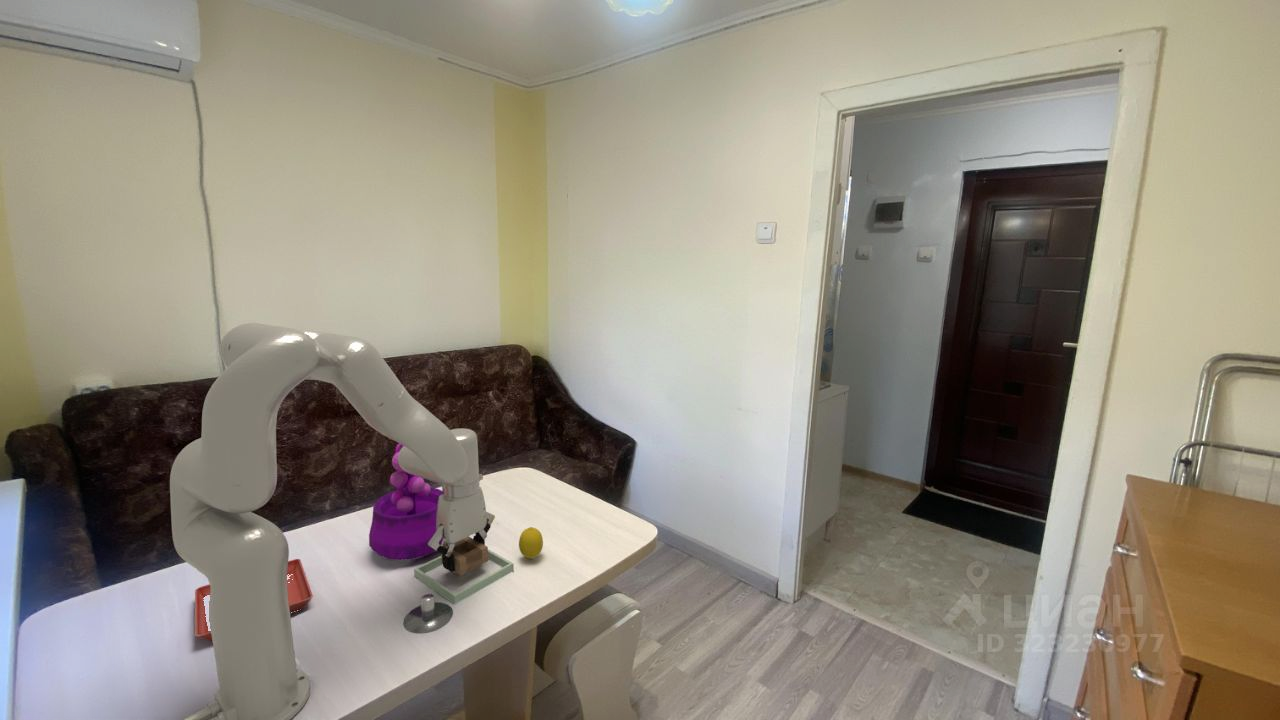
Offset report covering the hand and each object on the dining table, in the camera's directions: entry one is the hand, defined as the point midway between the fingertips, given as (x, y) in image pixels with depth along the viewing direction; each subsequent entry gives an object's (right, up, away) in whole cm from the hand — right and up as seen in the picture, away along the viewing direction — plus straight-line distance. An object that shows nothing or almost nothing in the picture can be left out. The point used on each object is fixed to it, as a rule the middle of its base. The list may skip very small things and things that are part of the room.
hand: (464, 561), depth 116 cm
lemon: (+13, -3, +8) cm, 16 cm away
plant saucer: (-39, -5, -10) cm, 40 cm away
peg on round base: (-2, -6, -14) cm, 15 cm away
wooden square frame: (0, 0, 0) cm, 0 cm away
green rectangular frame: (0, -4, +1) cm, 4 cm away
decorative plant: (-16, -1, +11) cm, 19 cm away
